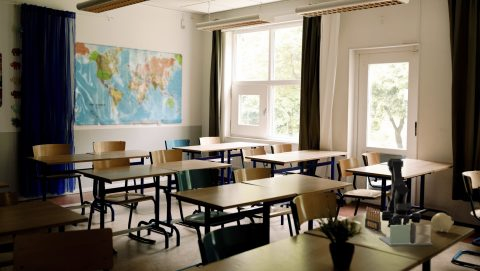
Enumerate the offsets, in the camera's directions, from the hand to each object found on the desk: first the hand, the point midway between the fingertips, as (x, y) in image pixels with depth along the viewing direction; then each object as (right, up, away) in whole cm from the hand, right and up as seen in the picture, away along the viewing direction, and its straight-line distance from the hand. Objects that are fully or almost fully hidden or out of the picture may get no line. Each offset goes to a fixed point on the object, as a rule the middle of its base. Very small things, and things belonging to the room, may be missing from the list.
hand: (401, 231), depth 236 cm
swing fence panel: (-1, -6, -1) cm, 6 cm away
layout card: (+3, -6, +5) cm, 8 cm away
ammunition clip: (-7, -4, +28) cm, 29 cm away
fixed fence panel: (+9, -6, +1) cm, 11 cm away
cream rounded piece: (+30, -5, +23) cm, 38 cm away
